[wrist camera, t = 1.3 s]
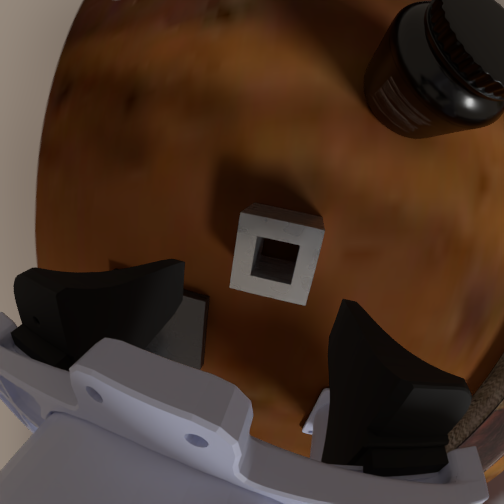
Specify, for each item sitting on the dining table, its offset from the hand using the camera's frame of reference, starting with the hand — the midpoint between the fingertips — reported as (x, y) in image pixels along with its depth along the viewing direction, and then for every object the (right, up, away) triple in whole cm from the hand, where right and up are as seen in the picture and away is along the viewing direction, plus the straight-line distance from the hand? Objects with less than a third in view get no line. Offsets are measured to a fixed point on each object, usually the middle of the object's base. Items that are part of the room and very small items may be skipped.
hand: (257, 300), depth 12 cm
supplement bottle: (+11, +13, +3) cm, 18 cm away
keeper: (-9, -4, +13) cm, 17 cm away
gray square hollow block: (+2, +3, +9) cm, 9 cm away
